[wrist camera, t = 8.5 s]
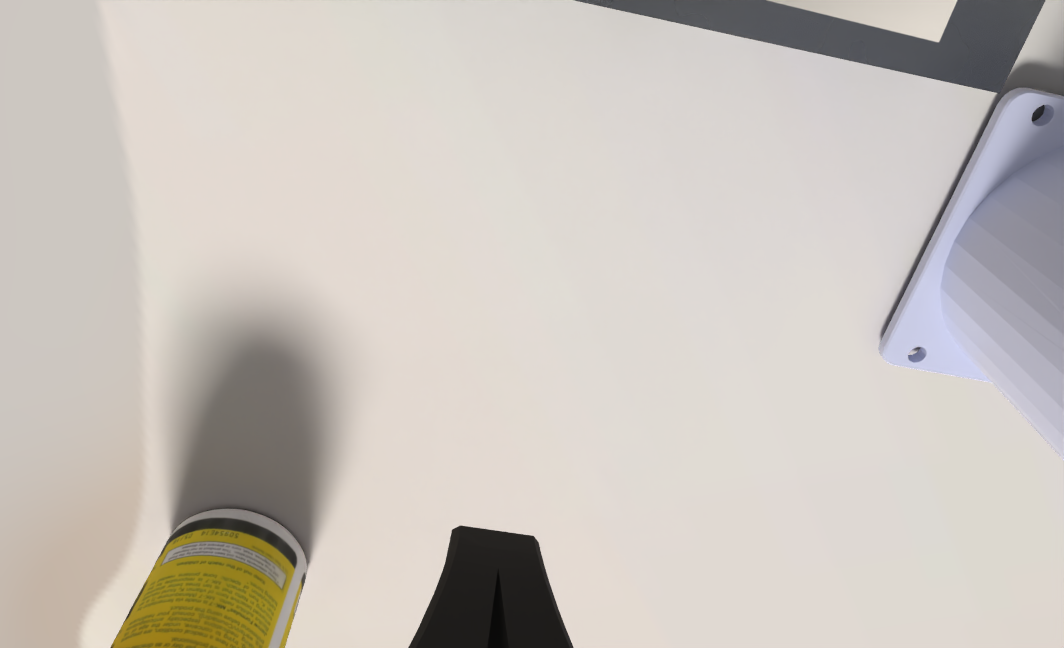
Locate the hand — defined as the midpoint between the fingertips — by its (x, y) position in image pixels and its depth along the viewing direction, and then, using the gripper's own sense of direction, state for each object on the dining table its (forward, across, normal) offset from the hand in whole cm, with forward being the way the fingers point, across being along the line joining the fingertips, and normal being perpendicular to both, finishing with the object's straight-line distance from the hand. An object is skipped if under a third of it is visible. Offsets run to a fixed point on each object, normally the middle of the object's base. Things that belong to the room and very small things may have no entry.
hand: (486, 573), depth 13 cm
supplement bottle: (+11, +7, +12) cm, 17 cm away
